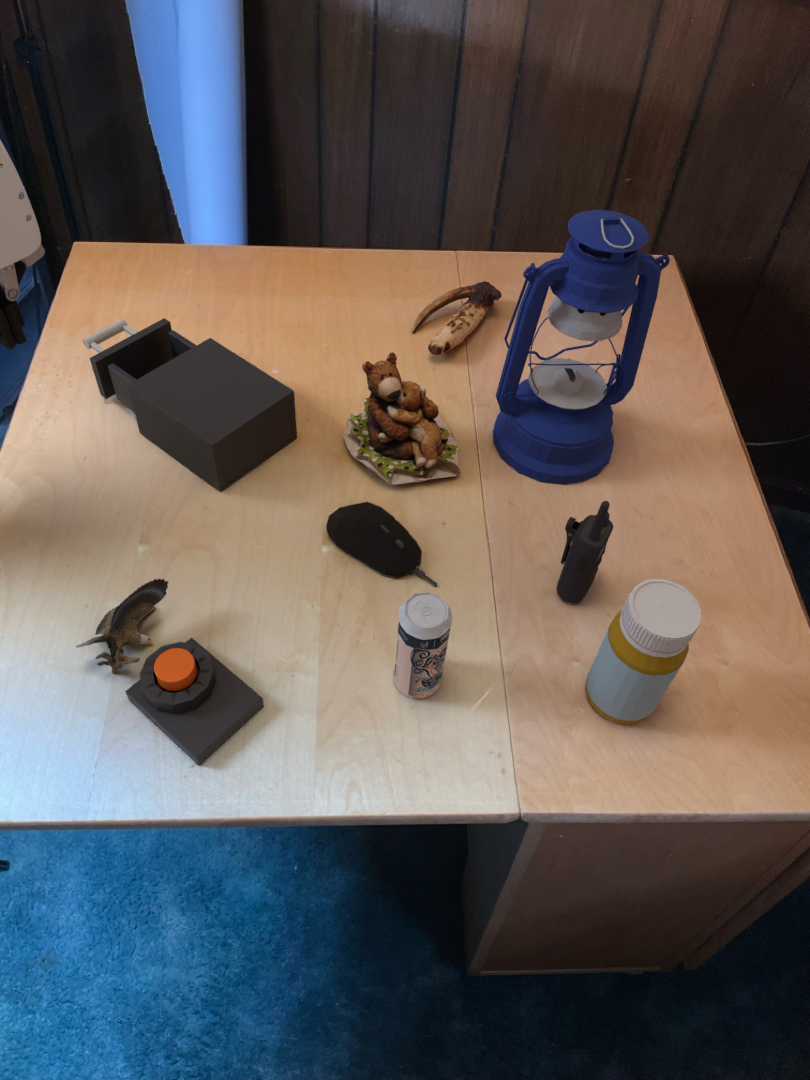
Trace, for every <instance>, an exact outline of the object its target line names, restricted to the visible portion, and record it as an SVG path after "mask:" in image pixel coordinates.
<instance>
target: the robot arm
mask: <svg viewBox="0 0 810 1080" xmlns="http://www.w3.org/2000/svg"><path fill="white" fill-rule="evenodd" d="M37 220H38V219H37V217H36V214H35V211H34V209H33V207H32V204H31V200H30V198H29V197H28V193H27V191H26V188H25V186H24V185H23V181H22V179H21V177H20V174H19V173H18V170H17V168H16V166H15V165H14V162H13V161H12V158H11V157H10V155H9V152H8V151H7V149H6V147H5V145H4V143H3V142H2V140H1V139H0V345H2V346H3V347H4V348H6V349H7V350H9V351H11V350H13V349H16V346H17V345H21V346H22V345H23V344H26V343H27V338H26V335H25V333H24V330H23V328H24V327H25V325H26V324H25V321H24V317H23V315H22V312H21V309H20V307H19V304H18V302H17V300H18V299H19V297H20V295H21V292H20V285H21V282H22V280H23V278H24V276H25V273H26V271H27V268H30V267H31V266H33V265H34V264H36V262H38V261H39V260H40V259H42V258H43V257H44V256H45V254H46V249H45V248H44V246H43V244H42V236H41V231H40V226H39V223H38V221H37Z"/></svg>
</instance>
